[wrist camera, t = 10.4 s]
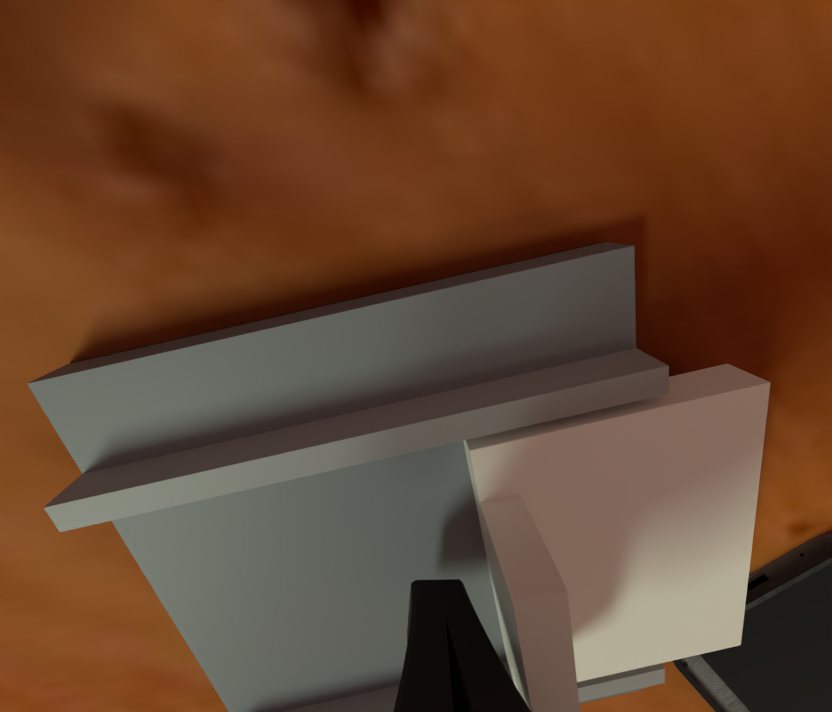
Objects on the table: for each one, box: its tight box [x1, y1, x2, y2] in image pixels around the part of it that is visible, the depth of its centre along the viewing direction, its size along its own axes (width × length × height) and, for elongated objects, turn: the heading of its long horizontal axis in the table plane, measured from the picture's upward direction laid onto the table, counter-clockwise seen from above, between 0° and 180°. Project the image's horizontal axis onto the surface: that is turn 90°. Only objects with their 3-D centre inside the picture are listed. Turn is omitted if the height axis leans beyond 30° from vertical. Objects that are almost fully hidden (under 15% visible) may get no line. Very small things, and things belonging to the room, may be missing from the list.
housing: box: [28, 242, 669, 712], centre depth 12 cm, size 16×14×2 cm
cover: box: [463, 364, 771, 712], centre depth 10 cm, size 9×7×4 cm
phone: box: [672, 533, 832, 712], centre depth 17 cm, size 8×1×15 cm
